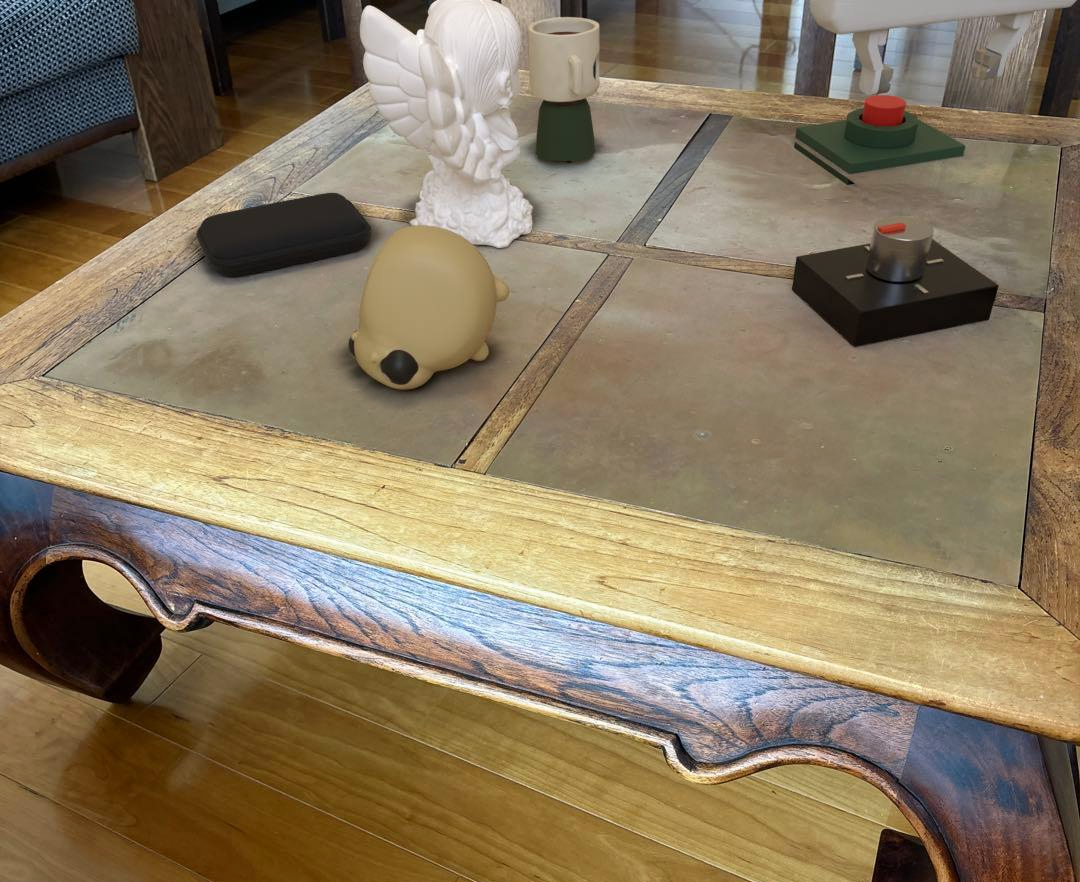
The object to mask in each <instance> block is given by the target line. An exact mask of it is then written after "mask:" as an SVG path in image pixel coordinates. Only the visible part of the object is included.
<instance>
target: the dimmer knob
mask: <svg viewBox="0 0 1080 882" xmlns="http://www.w3.org/2000/svg"><path fill="white" fill-rule="evenodd" d="M934 232H935V230H934V228H933V226H932V224H930V223H929V222H927V221H925V220H923V219H922V218H921V219H920V218H917V217H913V216H906V215H890V216H885V217H882V218H880V219H878V220H876V221H875V223H874V224H873V230H872V234H871V240H870V243H871V245H870V250H869V255H868V260H867V266H866V267H867V270H868V272H869V273H870V274H872V275H873V276H875V277H877V278H880V279H883V280H887V281H892V282H909V281H914V280H917V279H919V278H920V277H922V276H923V274H924V271H925V267H926V263H927V258H928V254H929V250H930V245H931V241H932V239H933V236H934Z"/></svg>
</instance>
